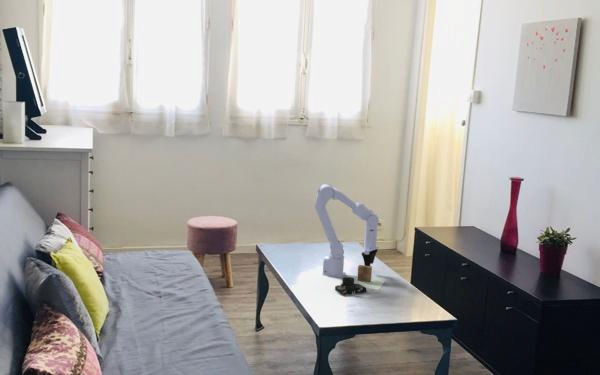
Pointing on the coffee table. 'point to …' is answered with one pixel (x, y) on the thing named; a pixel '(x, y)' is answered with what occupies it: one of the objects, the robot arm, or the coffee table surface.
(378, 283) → the mat
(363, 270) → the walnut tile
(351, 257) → the coffee table surface
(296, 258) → the coffee table surface
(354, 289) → the film camera
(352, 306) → the coffee table surface
